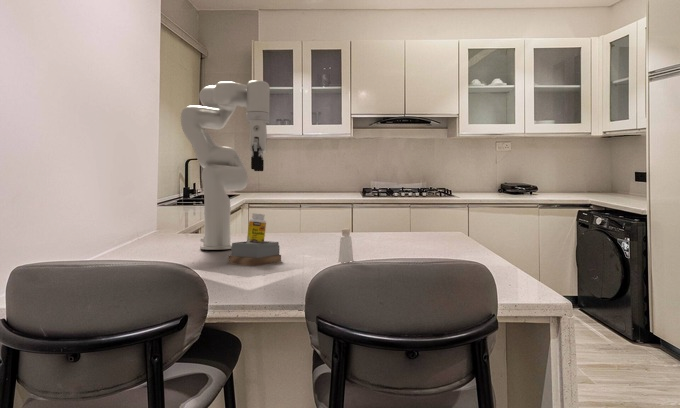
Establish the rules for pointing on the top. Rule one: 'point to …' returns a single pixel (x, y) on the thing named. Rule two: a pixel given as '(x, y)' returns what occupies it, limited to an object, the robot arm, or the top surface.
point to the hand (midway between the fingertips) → (257, 170)
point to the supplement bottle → (256, 229)
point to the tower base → (254, 260)
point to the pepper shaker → (345, 247)
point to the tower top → (255, 249)
